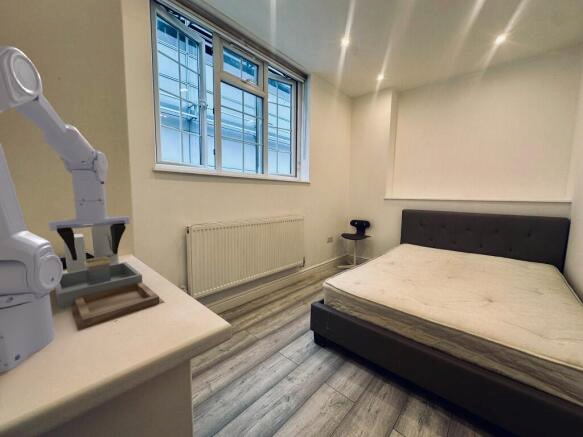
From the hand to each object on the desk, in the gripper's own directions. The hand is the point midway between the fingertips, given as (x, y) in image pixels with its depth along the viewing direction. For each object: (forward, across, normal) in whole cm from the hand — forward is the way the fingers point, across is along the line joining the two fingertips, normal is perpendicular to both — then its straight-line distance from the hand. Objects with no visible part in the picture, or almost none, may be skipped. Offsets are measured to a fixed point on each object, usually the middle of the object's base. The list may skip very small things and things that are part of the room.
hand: (95, 256), depth 57 cm
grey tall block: (+8, 0, 0) cm, 8 cm away
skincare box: (+9, +2, -17) cm, 19 cm away
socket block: (+9, -1, +13) cm, 16 cm away
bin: (+9, 0, 0) cm, 9 cm away
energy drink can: (+9, -5, -20) cm, 23 cm away
